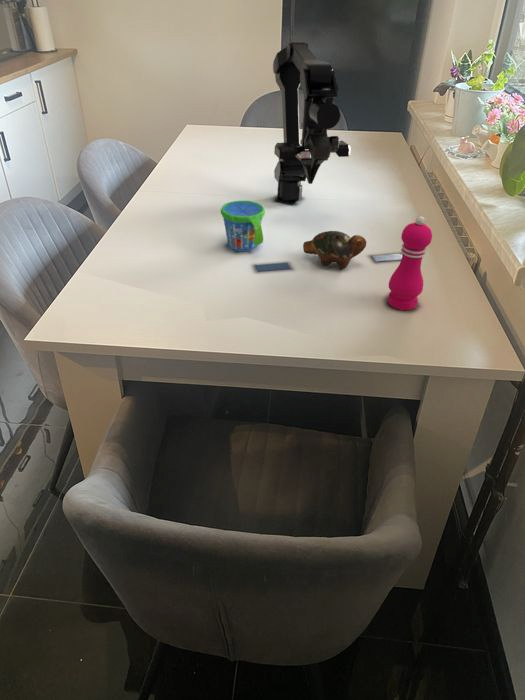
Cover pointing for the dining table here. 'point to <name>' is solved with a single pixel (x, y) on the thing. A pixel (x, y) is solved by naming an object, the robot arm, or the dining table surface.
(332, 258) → the decorative turtle
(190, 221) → the dining table surface
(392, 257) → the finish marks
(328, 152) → the robot arm
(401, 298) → the pepper mill
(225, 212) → the snack cup
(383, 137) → the dining table surface
